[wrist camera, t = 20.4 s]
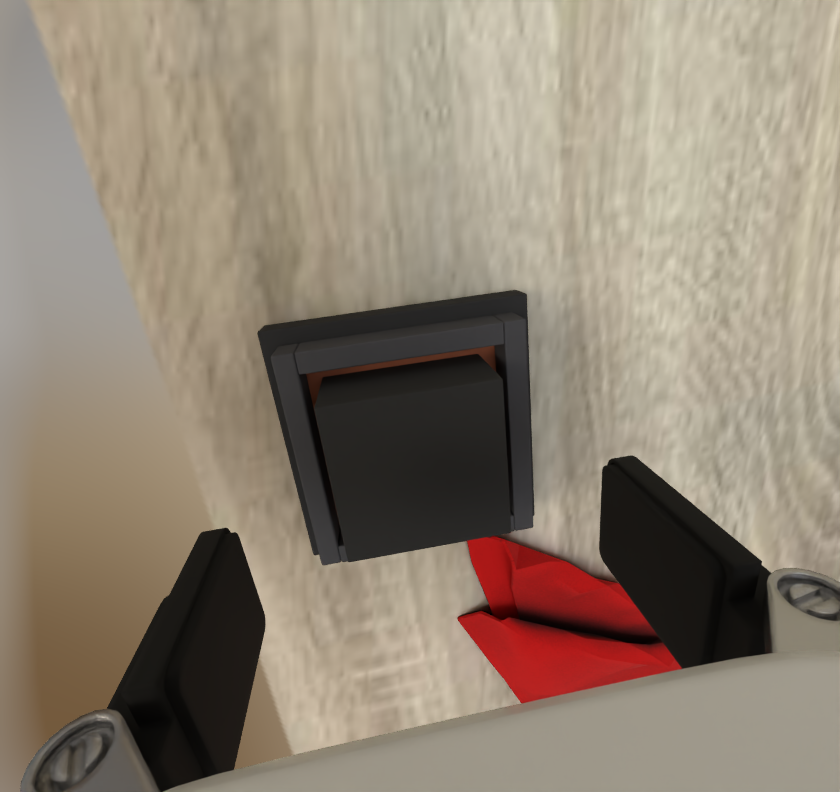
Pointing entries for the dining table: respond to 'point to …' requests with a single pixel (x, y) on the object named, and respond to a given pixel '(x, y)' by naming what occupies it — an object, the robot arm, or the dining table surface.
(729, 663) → the robot arm
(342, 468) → the black pad
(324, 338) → the base pad
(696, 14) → the dining table surface
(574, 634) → the cloth
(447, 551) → the dining table surface
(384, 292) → the dining table surface
